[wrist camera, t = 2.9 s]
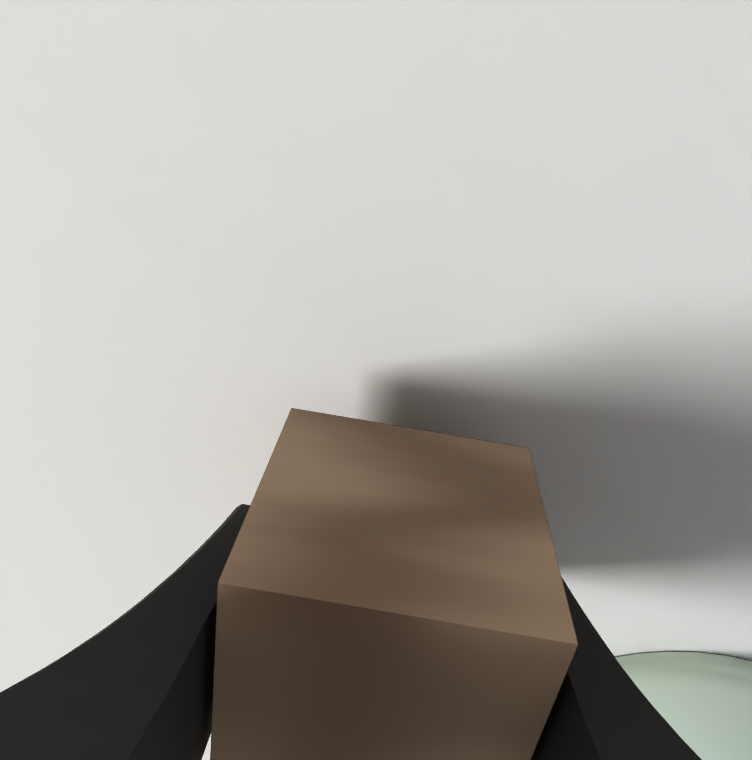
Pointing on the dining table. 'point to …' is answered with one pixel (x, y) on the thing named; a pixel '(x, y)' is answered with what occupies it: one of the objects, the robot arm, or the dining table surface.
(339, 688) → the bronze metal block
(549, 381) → the dining table surface
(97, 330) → the dining table surface
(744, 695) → the pale green domed disc
